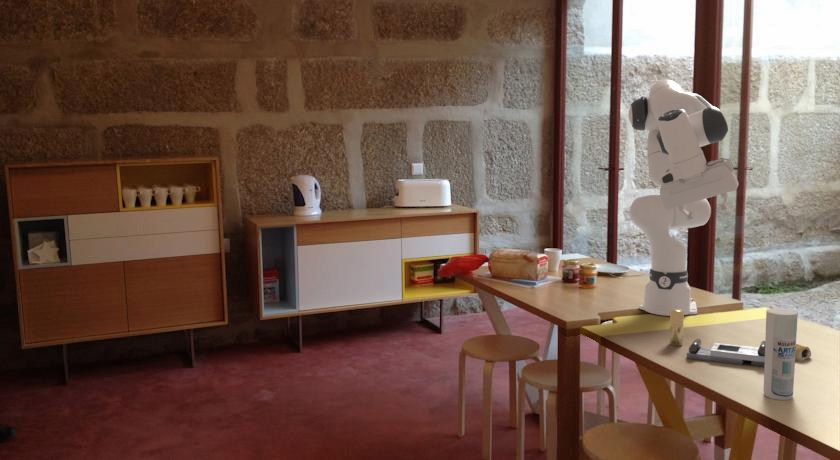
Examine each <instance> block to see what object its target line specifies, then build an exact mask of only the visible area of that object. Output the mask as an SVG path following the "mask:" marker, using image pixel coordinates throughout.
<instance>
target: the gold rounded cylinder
mask: <svg viewBox="0 0 840 460" xmlns="http://www.w3.org/2000/svg"><path fill="white" fill-rule="evenodd" d="M669 317H670V318H669V345H670V346H672V347H683V346H682V345H684V317H685V315H684V310H681V309H671V310H670V316H669Z"/></svg>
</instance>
